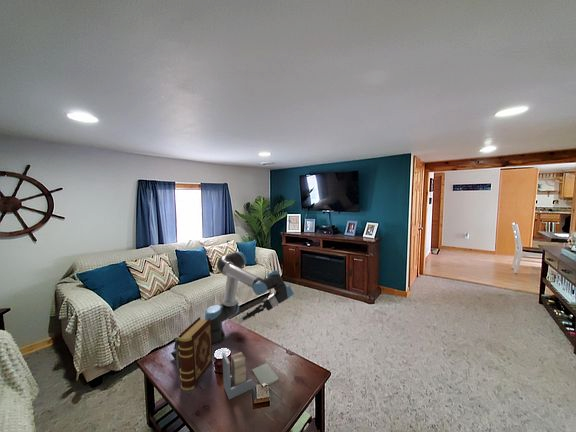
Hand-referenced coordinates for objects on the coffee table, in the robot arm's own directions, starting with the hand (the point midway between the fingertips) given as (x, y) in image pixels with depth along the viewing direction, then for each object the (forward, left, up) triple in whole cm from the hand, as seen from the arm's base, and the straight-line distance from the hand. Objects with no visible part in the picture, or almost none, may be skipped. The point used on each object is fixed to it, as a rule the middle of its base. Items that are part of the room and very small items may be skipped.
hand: (240, 320), depth 144 cm
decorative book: (-6, -26, -29) cm, 39 cm away
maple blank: (+16, -8, -29) cm, 34 cm away
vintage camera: (-24, -32, -29) cm, 49 cm away
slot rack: (+16, -8, -29) cm, 34 cm away
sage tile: (+16, +8, -29) cm, 34 cm away
